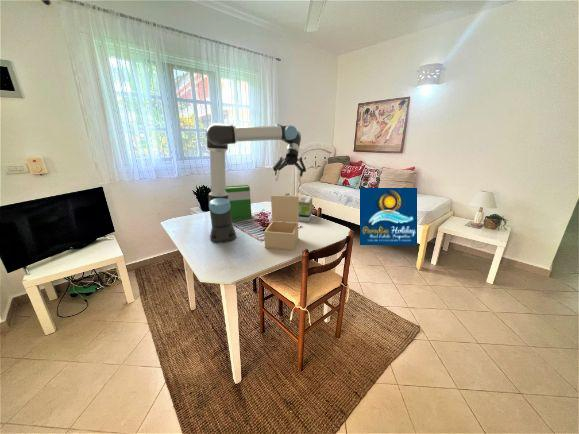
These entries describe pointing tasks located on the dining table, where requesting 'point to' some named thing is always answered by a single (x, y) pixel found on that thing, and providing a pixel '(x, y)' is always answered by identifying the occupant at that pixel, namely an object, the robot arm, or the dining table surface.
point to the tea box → (305, 208)
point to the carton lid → (285, 208)
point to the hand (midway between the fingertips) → (287, 180)
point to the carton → (281, 235)
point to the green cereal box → (239, 202)
